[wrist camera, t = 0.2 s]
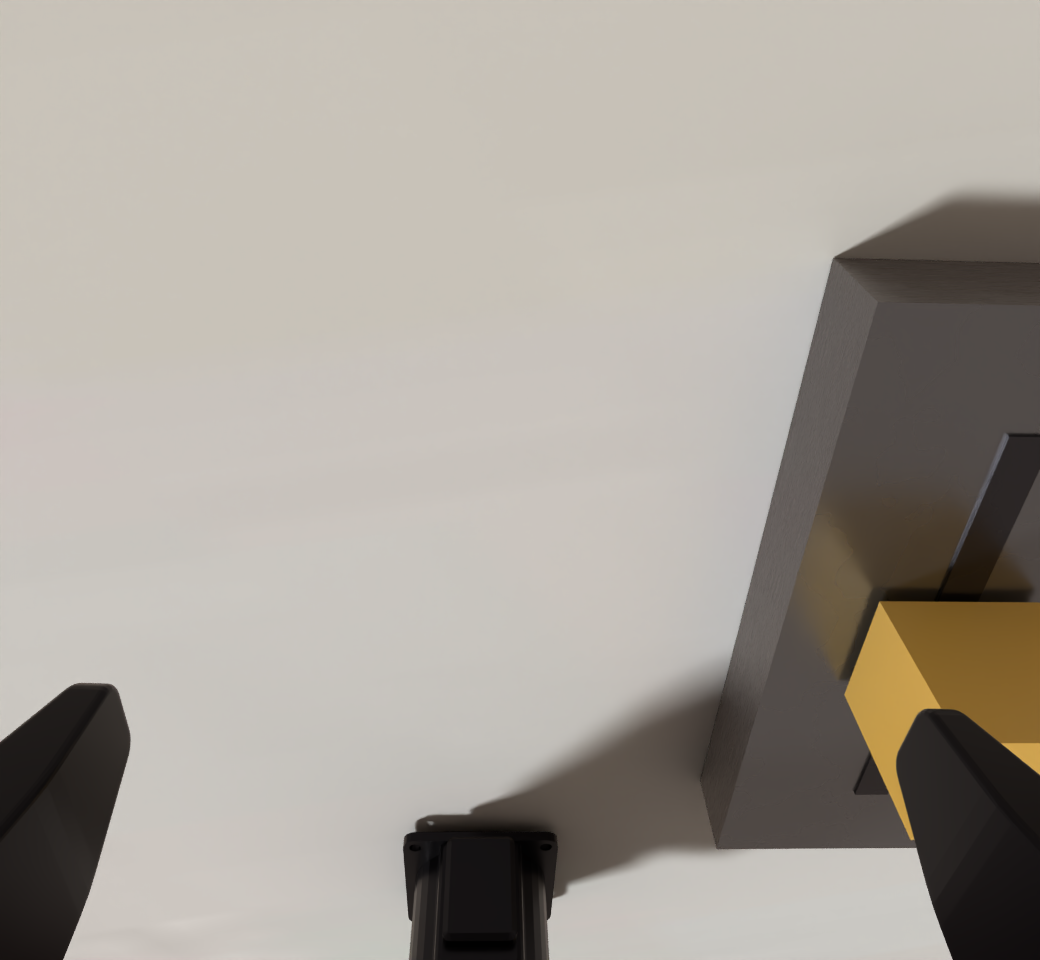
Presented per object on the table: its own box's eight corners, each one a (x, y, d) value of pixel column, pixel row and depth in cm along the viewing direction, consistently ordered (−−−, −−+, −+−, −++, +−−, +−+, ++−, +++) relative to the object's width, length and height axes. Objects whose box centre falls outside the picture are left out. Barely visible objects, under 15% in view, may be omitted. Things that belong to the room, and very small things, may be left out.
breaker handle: (997, 695, 26) (1091, 839, 22) (844, 694, 26) (910, 840, 22) (1046, 602, 24) (1161, 743, 20) (879, 601, 24) (960, 743, 20)
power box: (937, 780, 34) (973, 849, 32) (700, 780, 34) (717, 851, 31) (1201, 267, 22) (1295, 313, 19) (833, 258, 21) (879, 303, 19)
